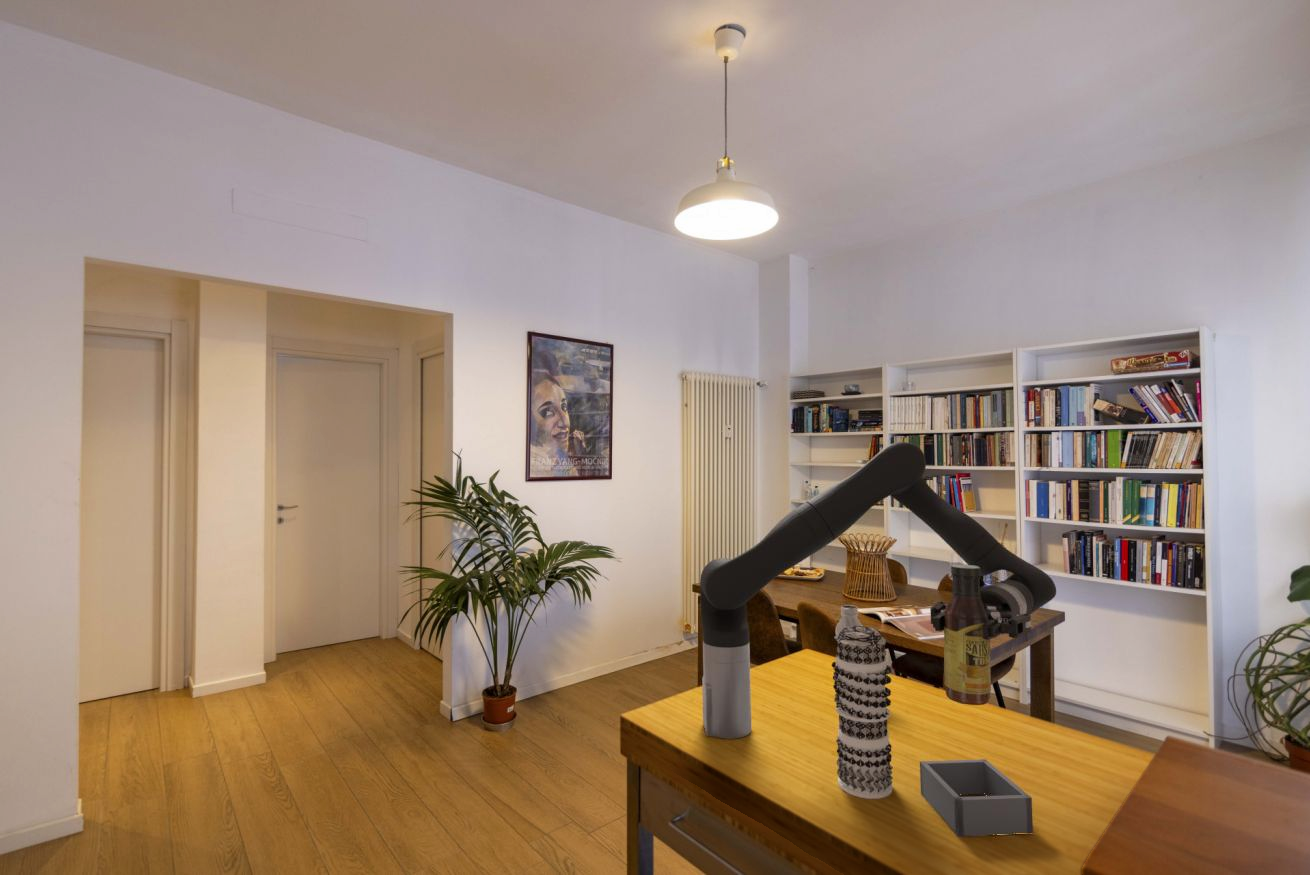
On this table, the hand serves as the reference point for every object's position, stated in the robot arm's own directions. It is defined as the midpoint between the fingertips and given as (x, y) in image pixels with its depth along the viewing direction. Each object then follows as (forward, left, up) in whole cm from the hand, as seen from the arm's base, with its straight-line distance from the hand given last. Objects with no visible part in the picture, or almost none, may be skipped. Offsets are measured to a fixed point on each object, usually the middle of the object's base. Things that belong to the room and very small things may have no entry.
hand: (961, 628), depth 93 cm
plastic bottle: (0, +49, -28) cm, 56 cm away
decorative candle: (-11, +11, -28) cm, 32 cm away
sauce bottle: (+2, +2, -11) cm, 11 cm away
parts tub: (+2, +2, -28) cm, 28 cm away
